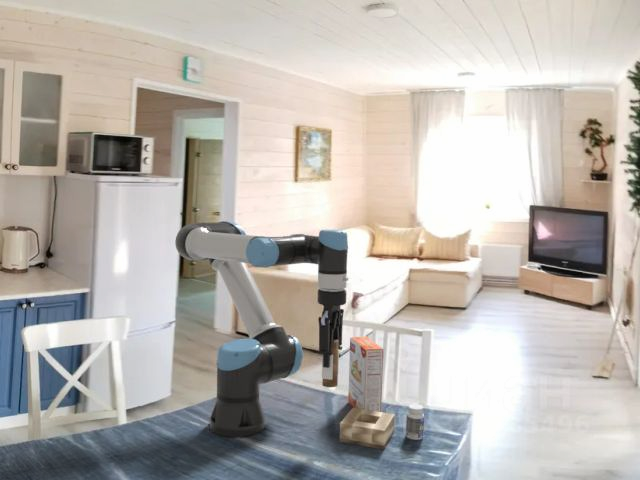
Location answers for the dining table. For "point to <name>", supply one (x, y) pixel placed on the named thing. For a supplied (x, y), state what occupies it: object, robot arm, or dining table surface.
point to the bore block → (367, 428)
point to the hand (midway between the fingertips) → (330, 376)
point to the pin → (335, 367)
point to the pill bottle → (415, 422)
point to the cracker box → (365, 374)
